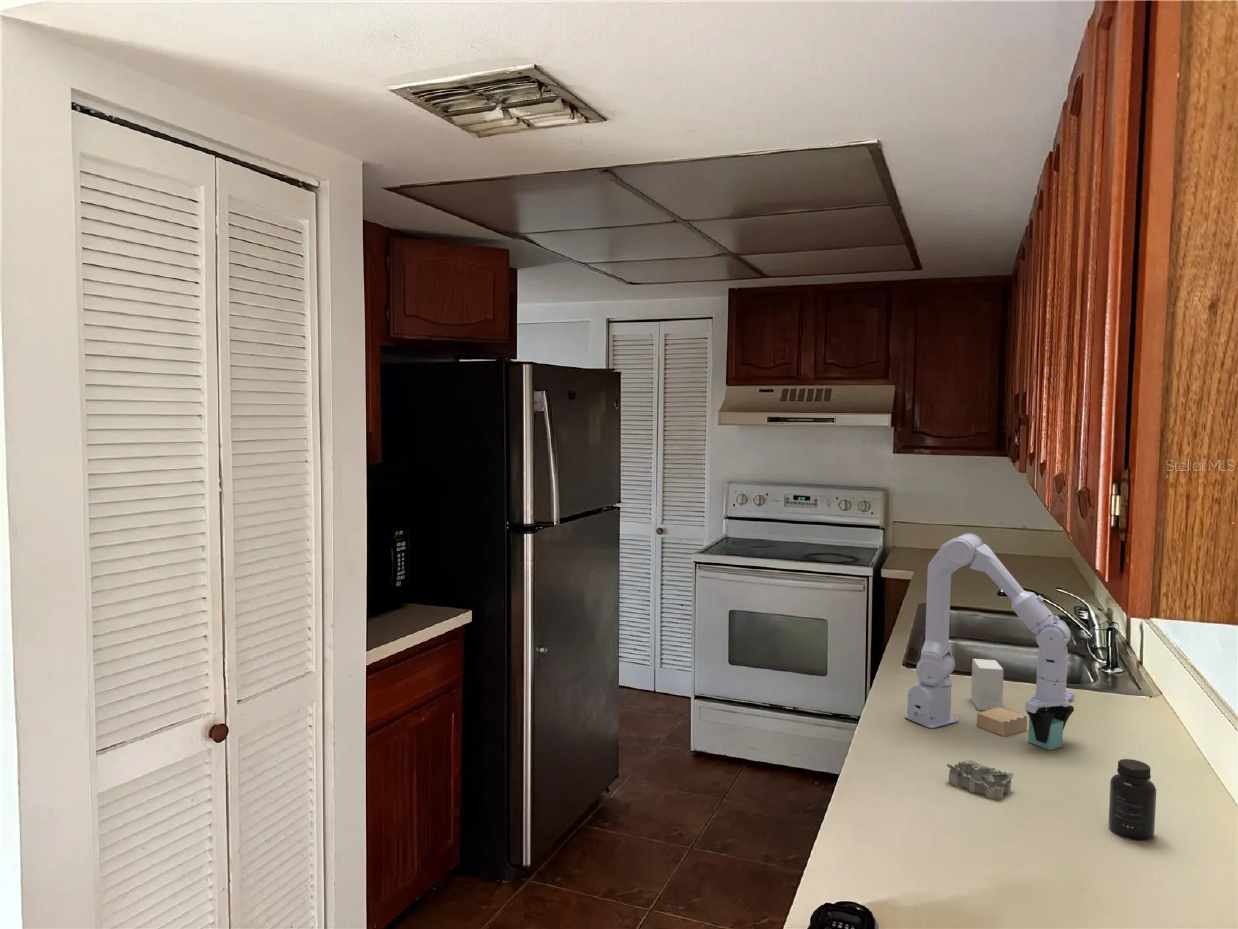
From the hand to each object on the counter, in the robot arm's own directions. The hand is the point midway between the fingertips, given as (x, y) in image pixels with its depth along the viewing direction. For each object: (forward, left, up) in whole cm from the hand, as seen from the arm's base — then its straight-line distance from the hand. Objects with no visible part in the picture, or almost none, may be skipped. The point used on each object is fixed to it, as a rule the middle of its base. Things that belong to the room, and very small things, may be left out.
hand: (1048, 739), depth 184 cm
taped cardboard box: (0, +11, -1) cm, 11 cm away
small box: (+10, +22, -2) cm, 24 cm away
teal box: (0, +1, -1) cm, 2 cm away
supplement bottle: (-22, -30, -2) cm, 37 cm away
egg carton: (-30, -6, -2) cm, 31 cm away
